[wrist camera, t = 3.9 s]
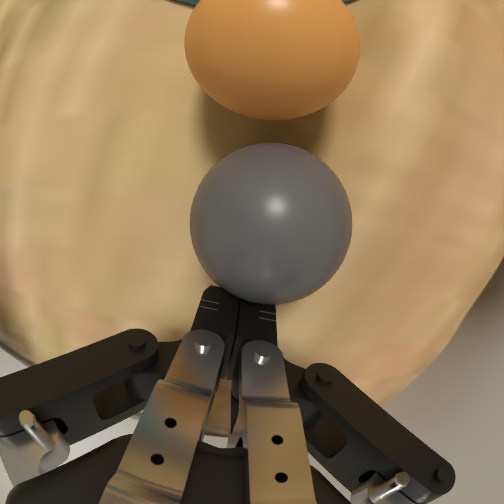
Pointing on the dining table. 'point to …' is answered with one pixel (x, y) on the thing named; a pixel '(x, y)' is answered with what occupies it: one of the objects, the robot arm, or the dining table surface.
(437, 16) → the dining table surface
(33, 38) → the dining table surface
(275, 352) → the robot arm
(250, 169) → the grey rubber ball
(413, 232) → the dining table surface
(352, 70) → the orange ball
